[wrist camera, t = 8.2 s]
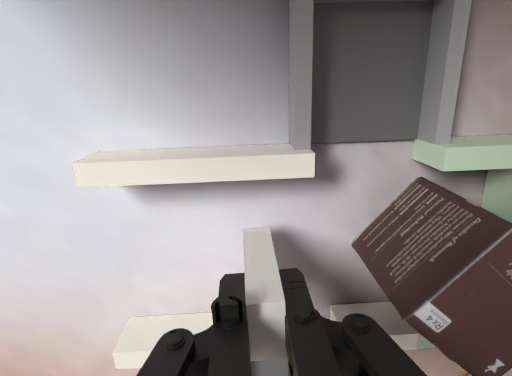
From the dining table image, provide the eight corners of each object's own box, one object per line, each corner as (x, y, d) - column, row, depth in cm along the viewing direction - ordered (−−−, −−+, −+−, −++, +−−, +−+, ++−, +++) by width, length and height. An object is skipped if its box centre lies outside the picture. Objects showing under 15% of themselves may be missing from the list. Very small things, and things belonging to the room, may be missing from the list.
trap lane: (69, -9, 15) (29, -30, 12) (547, -19, 16) (613, -42, 13) (148, 415, 24) (135, 460, 21) (458, 393, 25) (487, 433, 22)
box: (477, 231, 20) (600, 305, 13) (407, 293, 22) (487, 391, 15) (417, 172, 19) (521, 222, 12) (346, 242, 20) (403, 323, 13)
